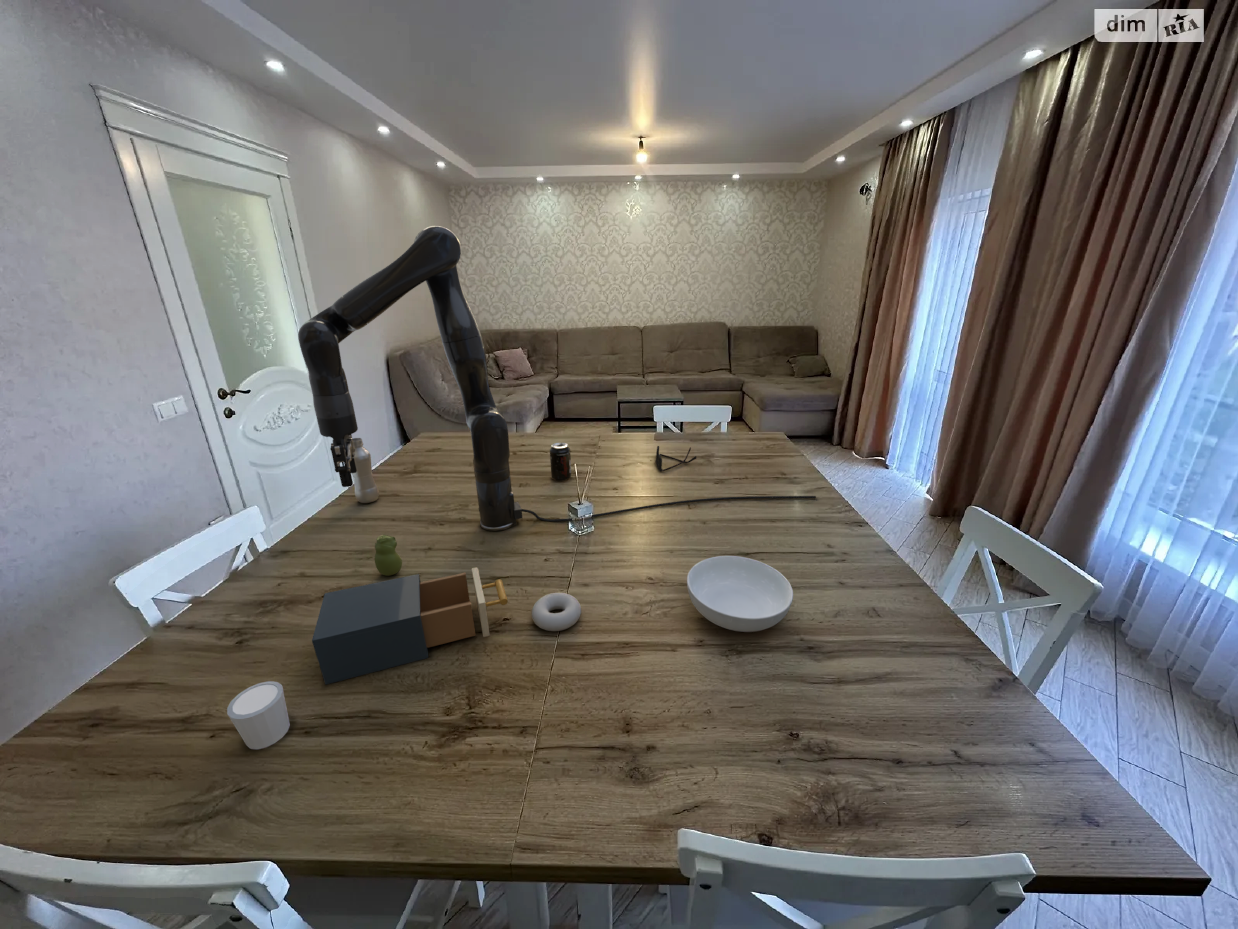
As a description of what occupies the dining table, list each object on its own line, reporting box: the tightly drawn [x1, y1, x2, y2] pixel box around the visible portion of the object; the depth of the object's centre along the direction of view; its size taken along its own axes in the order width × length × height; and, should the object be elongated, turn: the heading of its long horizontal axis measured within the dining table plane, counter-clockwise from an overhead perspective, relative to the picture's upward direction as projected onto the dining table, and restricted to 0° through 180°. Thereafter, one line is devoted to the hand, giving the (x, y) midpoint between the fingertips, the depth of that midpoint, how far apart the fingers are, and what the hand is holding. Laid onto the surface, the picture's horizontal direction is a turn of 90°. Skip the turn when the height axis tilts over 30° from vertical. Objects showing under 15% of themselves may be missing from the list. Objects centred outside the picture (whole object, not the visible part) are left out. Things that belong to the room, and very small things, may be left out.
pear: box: [374, 534, 403, 577], centre depth 111 cm, size 6×5×10 cm
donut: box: [531, 592, 582, 632], centre depth 98 cm, size 10×3×10 cm
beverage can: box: [549, 442, 572, 482], centre depth 162 cm, size 7×7×12 cm
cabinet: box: [311, 573, 429, 686], centre depth 90 cm, size 17×14×10 cm
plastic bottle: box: [351, 437, 380, 504], centre depth 146 cm, size 6×7×20 cm
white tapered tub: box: [226, 680, 291, 750], centre depth 73 cm, size 7×7×7 cm
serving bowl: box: [686, 555, 794, 633], centre depth 99 cm, size 21×21×7 cm
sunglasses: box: [654, 445, 697, 472], centre depth 176 cm, size 17×14×5 cm
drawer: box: [420, 567, 509, 649], centre depth 94 cm, size 20×12×8 cm, turn 112°
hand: (349, 479), depth 114 cm, fingers open, 8 cm apart
